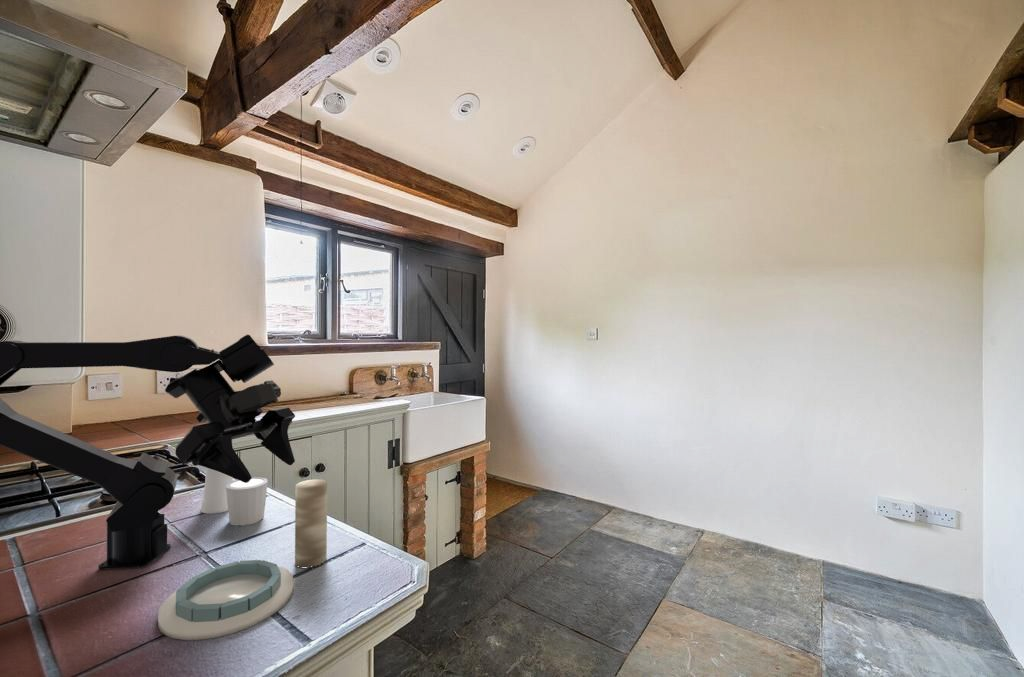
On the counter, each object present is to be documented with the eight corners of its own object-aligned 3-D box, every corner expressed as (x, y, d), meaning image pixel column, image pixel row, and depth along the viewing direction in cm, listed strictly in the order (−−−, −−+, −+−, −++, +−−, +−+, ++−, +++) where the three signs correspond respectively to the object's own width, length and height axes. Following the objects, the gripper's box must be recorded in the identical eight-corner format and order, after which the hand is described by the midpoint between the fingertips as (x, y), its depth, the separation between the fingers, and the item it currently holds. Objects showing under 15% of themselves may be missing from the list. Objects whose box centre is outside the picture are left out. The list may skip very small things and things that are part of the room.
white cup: (248, 528, 81) (248, 490, 80) (216, 525, 82) (216, 487, 82) (275, 513, 87) (276, 478, 87) (245, 510, 89) (245, 475, 89)
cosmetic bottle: (239, 501, 93) (240, 396, 93) (232, 511, 88) (233, 400, 88) (205, 504, 91) (206, 397, 91) (196, 515, 86) (197, 401, 85)
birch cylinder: (290, 568, 67) (290, 489, 67) (300, 554, 72) (301, 479, 71) (321, 567, 68) (322, 488, 68) (330, 552, 72) (330, 478, 72)
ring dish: (126, 644, 51) (126, 622, 51) (202, 573, 65) (202, 556, 65) (265, 635, 52) (265, 614, 52) (308, 568, 67) (308, 552, 67)
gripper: (191, 370, 63) (256, 453, 61) (286, 362, 81) (339, 426, 79) (147, 422, 65) (209, 505, 63) (250, 403, 83) (300, 467, 81)
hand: (272, 471), depth 71 cm, fingers open, 9 cm apart
